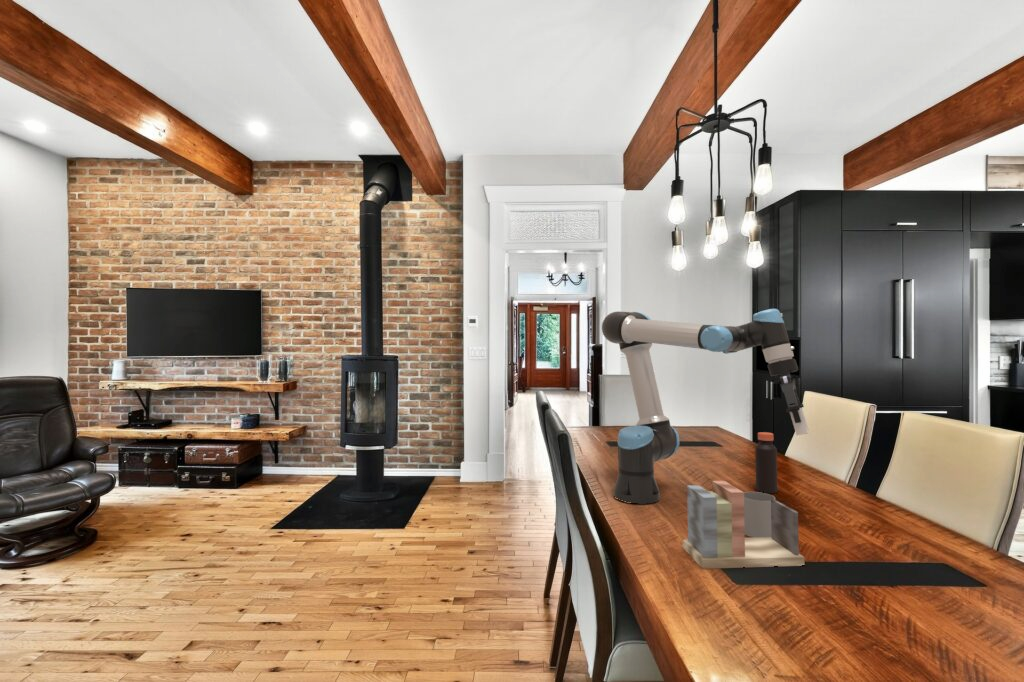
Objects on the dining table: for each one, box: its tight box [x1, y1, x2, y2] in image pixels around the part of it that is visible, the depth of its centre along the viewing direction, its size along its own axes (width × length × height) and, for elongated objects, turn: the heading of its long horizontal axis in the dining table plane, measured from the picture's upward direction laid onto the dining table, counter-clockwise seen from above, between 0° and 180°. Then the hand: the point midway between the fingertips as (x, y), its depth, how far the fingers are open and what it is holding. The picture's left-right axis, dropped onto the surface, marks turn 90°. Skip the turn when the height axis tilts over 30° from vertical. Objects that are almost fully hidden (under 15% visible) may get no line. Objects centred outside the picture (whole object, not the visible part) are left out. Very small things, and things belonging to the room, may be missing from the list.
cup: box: [743, 491, 776, 538], centre depth 135 cm, size 8×8×10 cm
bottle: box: [754, 431, 778, 494], centre depth 172 cm, size 7×7×20 cm
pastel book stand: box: [682, 480, 805, 570], centre depth 120 cm, size 12×24×17 cm, turn 92°
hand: (802, 432), depth 142 cm, fingers open, 13 cm apart
